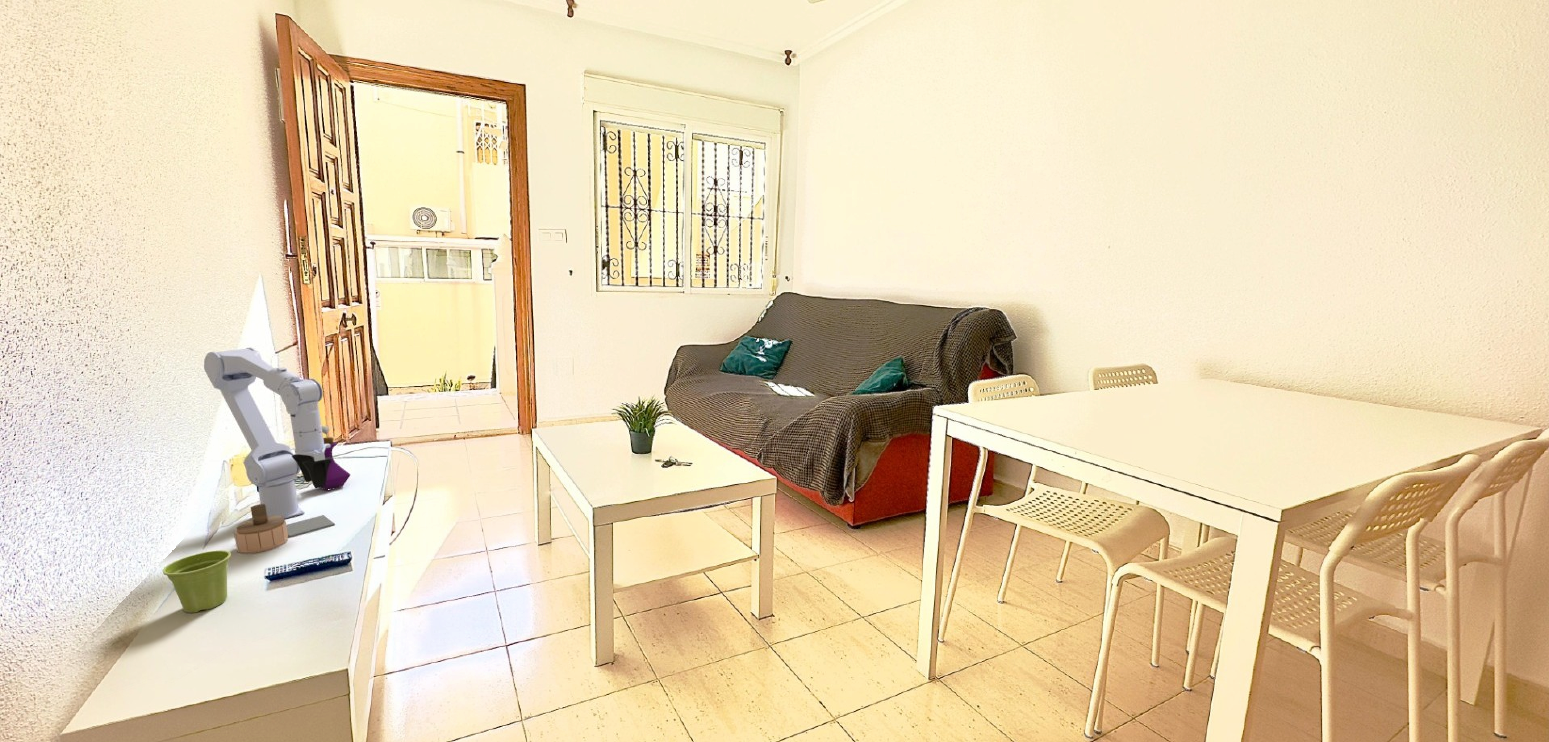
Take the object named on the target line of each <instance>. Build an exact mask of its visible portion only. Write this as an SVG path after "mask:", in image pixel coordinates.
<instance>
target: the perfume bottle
mask: <svg viewBox="0 0 1549 742" xmlns="http://www.w3.org/2000/svg"><path fill="white" fill-rule="evenodd" d="M321 426H322V433H323V434H324V435H325V436H326V437H323V439H324V444H330V447H329V448H326V449H325V451H324V455H325V458H327V457H331V458H332V461H331V463H330V465H329V468H328V472H327V480H326V486H324V487H320V489H322V488H323V489H322V490H324V489H326V490H325V491H329V490H328V489H331V490H334V489H333V488H335V489H338V488H341V487H340V486H342V487H344V485H345V484H346V483H347V481H348V480H349V478H350V477H351V473H349V471H346V470H345V469H344V468H343V467H342V466H340V464H338V463H337V462H336V460H335V459H334V457H333V449H334V448H335V446H337V442H335V441H334V437H333V436H329V437H328V433H329V431H330V427H329V426H328V425H321ZM337 487H338V488H337Z"/></svg>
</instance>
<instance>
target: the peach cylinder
mask: <svg viewBox="0 0 1549 742" xmlns="http://www.w3.org/2000/svg"><path fill="white" fill-rule="evenodd" d="M286 525H287V521H286V520H285V519H284V523H283V524H282V525H280V526H278V527H276V528H274V529H271V530H267V531H264V532H259V533H253V534H240V533H238V532H237V529H235V530H234V531H233V535H234V541H235V546H236V548H237V553H239V552H240V553H239V554H245V555H249V554H259V553H262V552H265V551H271V550H273V549H276V548H278V547H281V546H282V545H284V544H287V542H288V541H289V540H288V539H289V536H288V532H287V526H286Z"/></svg>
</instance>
